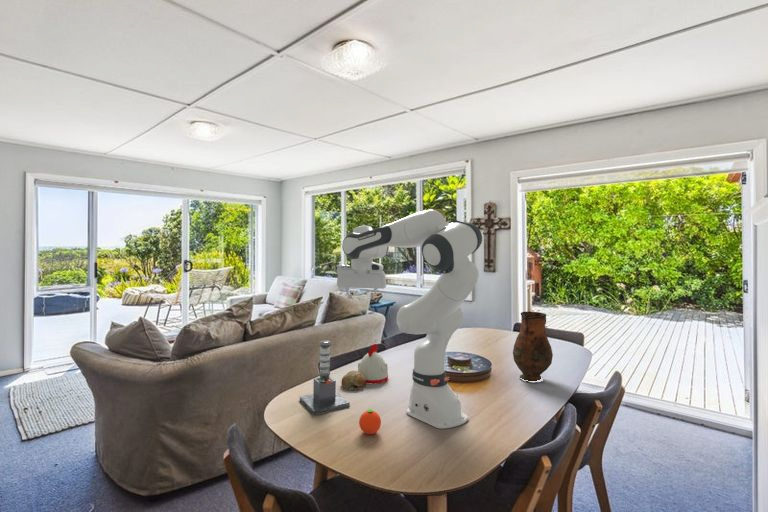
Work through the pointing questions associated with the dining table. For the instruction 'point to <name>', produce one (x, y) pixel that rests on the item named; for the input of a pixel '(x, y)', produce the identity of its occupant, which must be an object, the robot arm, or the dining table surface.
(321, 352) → the column
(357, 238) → the robot arm
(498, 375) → the dining table surface
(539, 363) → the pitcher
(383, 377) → the kitchen timer
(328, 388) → the stand base
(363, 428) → the clementine
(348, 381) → the bread roll
